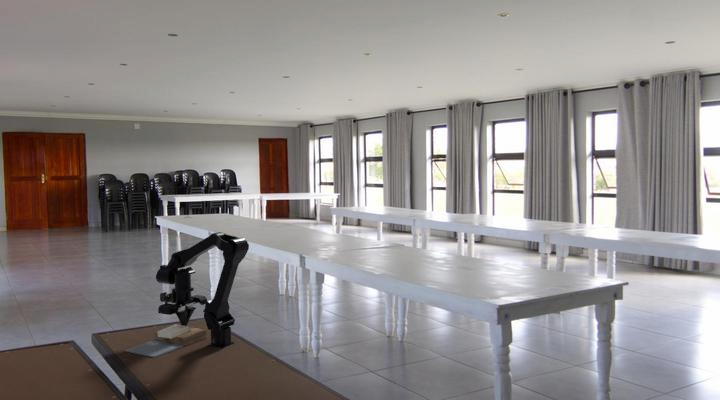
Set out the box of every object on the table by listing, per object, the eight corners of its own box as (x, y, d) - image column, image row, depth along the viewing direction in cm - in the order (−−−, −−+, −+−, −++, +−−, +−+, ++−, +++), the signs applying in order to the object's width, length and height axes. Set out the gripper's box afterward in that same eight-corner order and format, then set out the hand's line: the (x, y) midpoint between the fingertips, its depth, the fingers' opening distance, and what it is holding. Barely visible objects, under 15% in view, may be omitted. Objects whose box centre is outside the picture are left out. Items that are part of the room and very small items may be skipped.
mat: (183, 346, 200) (183, 345, 200) (154, 357, 189) (154, 356, 189) (154, 341, 207) (154, 339, 207) (125, 351, 195) (125, 350, 195)
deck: (206, 337, 210) (205, 329, 210) (183, 346, 200) (183, 338, 200) (178, 332, 216) (177, 325, 216) (155, 340, 207) (155, 332, 207)
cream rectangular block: (188, 331, 208) (188, 326, 207) (170, 338, 199) (170, 332, 199) (176, 329, 210) (175, 324, 210) (157, 336, 202) (157, 331, 202)
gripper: (186, 278, 221) (187, 318, 222) (146, 288, 204) (148, 331, 206) (207, 281, 215) (208, 322, 216) (168, 291, 199) (170, 335, 200)
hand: (184, 327), depth 210 cm, fingers closed
